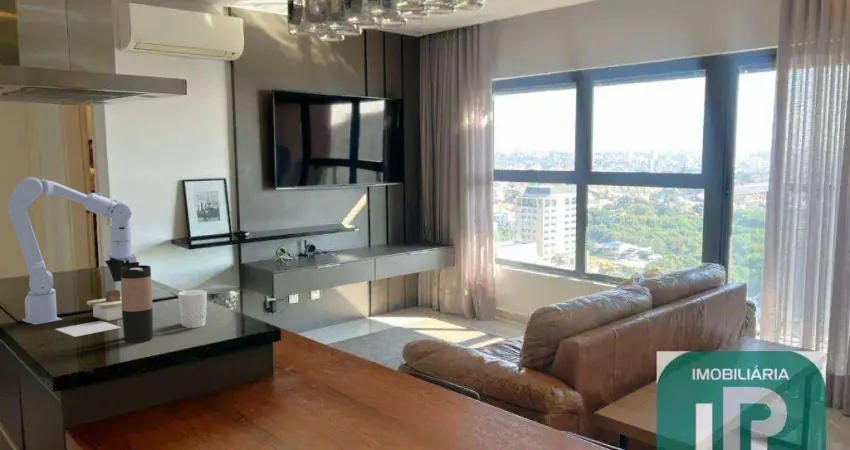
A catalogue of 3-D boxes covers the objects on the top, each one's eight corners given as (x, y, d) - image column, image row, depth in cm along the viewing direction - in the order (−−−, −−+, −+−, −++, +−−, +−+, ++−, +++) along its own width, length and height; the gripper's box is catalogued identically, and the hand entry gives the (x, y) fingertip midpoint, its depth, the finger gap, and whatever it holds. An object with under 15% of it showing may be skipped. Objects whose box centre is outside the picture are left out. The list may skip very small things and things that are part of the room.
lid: (86, 304, 198) (86, 291, 198) (121, 298, 207) (121, 286, 206) (103, 309, 191) (103, 296, 191) (139, 303, 200) (138, 290, 199)
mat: (54, 330, 183) (54, 329, 183) (100, 322, 194) (100, 320, 194) (75, 338, 175) (74, 336, 175) (121, 329, 186) (121, 327, 186)
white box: (93, 318, 199) (92, 303, 198) (122, 312, 206) (121, 299, 205) (107, 322, 193) (106, 307, 193) (136, 317, 200) (135, 302, 200)
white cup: (198, 329, 185) (197, 295, 184) (174, 328, 187) (172, 294, 186) (212, 322, 193) (211, 290, 192) (189, 321, 195) (188, 289, 194)
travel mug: (129, 335, 178) (126, 265, 176) (157, 335, 179) (154, 265, 177) (118, 343, 171) (115, 269, 169) (148, 342, 171) (145, 269, 169)
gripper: (144, 241, 202) (146, 283, 204) (122, 238, 211) (124, 278, 213) (122, 243, 197) (124, 286, 198) (100, 239, 206) (102, 281, 207)
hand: (123, 282), depth 205 cm, fingers open, 7 cm apart
